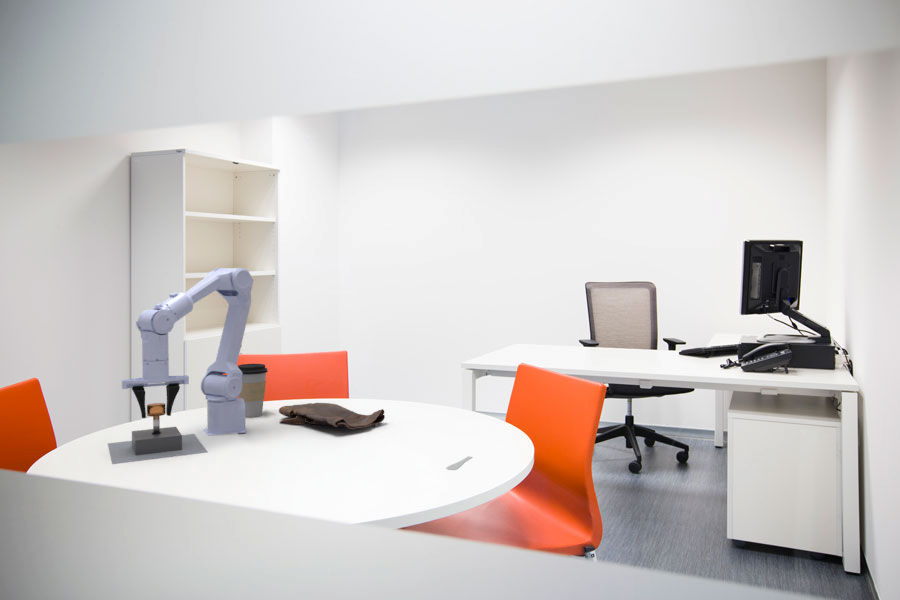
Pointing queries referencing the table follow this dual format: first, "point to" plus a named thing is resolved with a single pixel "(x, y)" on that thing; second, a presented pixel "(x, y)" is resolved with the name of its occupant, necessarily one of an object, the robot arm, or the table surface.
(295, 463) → the table surface
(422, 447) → the table surface
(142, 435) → the block
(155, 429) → the plunger
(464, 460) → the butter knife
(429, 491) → the table surface
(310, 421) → the folded brown cloth
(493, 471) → the table surface
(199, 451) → the board
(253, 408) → the coffee cup
